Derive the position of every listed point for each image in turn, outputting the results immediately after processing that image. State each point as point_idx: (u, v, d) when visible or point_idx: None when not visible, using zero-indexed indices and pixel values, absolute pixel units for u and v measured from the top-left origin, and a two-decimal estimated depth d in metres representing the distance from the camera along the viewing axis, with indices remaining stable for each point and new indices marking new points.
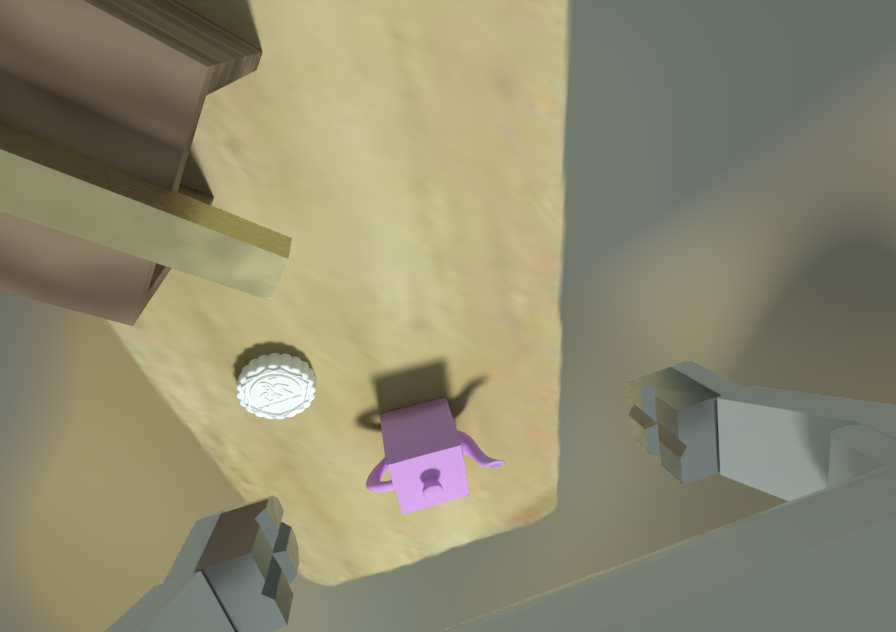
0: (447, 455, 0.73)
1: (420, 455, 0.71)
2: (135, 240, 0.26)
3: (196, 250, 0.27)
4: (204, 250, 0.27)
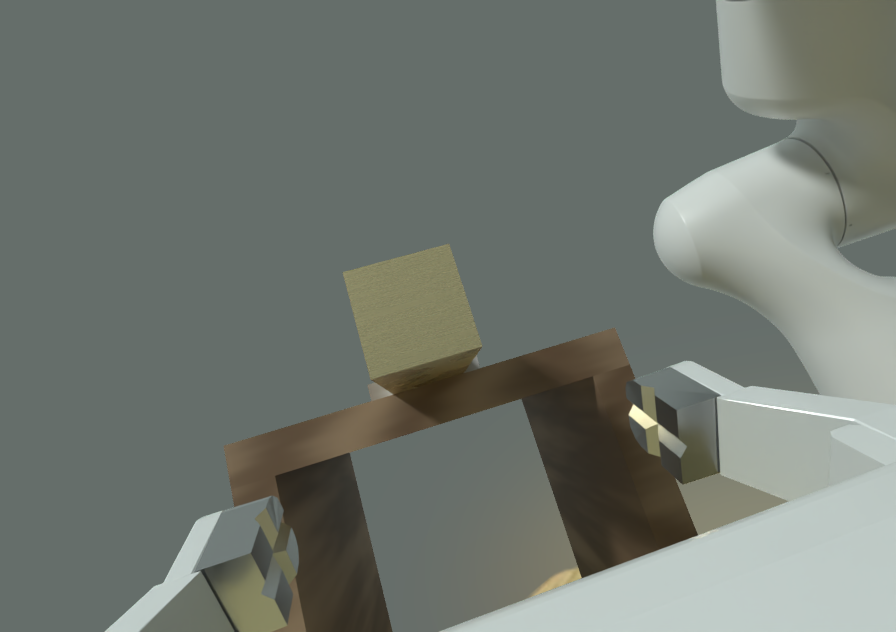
0: None
1: None
2: None
3: None
4: None
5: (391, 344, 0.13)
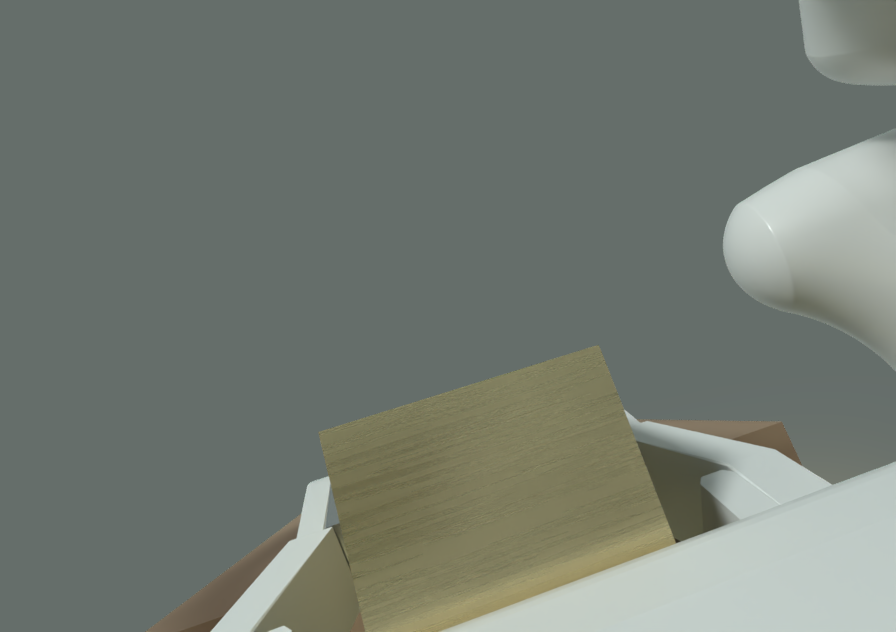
0: None
1: None
2: None
3: None
4: None
5: None
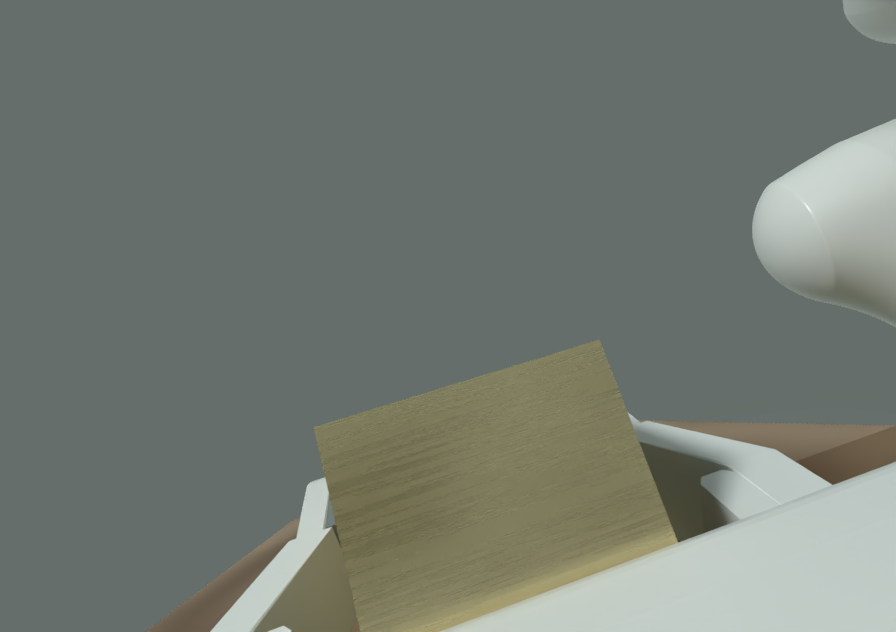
0: None
1: None
2: None
3: None
4: None
5: None
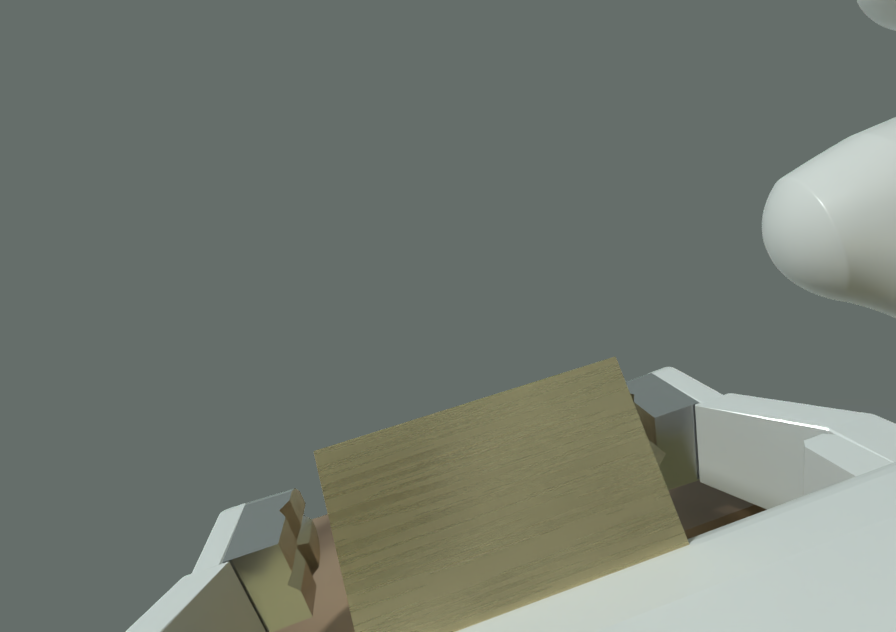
0: None
1: None
2: None
3: None
4: None
5: None
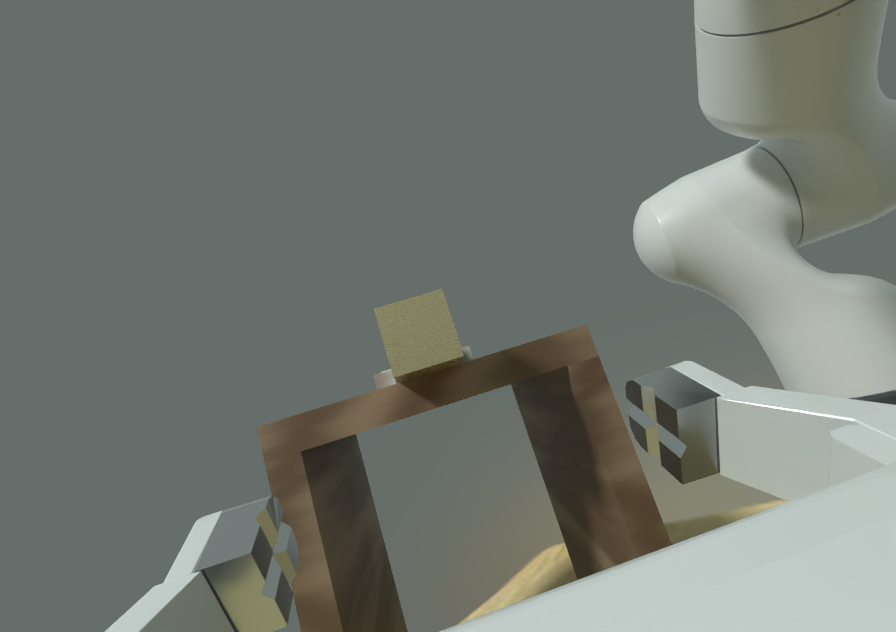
0: None
1: None
2: None
3: None
4: None
5: (406, 355, 0.21)
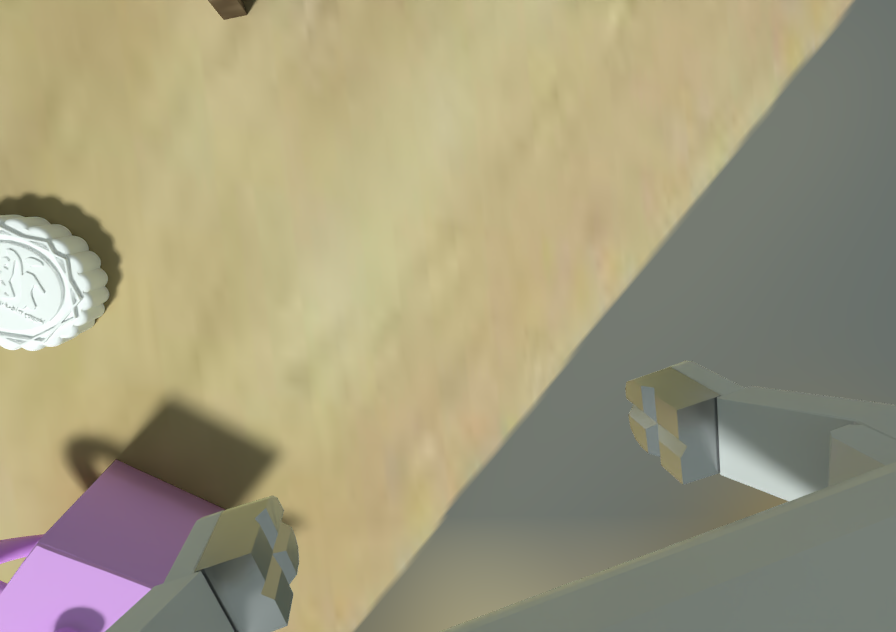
0: None
1: (107, 571, 0.36)
2: None
3: None
4: None
5: None
